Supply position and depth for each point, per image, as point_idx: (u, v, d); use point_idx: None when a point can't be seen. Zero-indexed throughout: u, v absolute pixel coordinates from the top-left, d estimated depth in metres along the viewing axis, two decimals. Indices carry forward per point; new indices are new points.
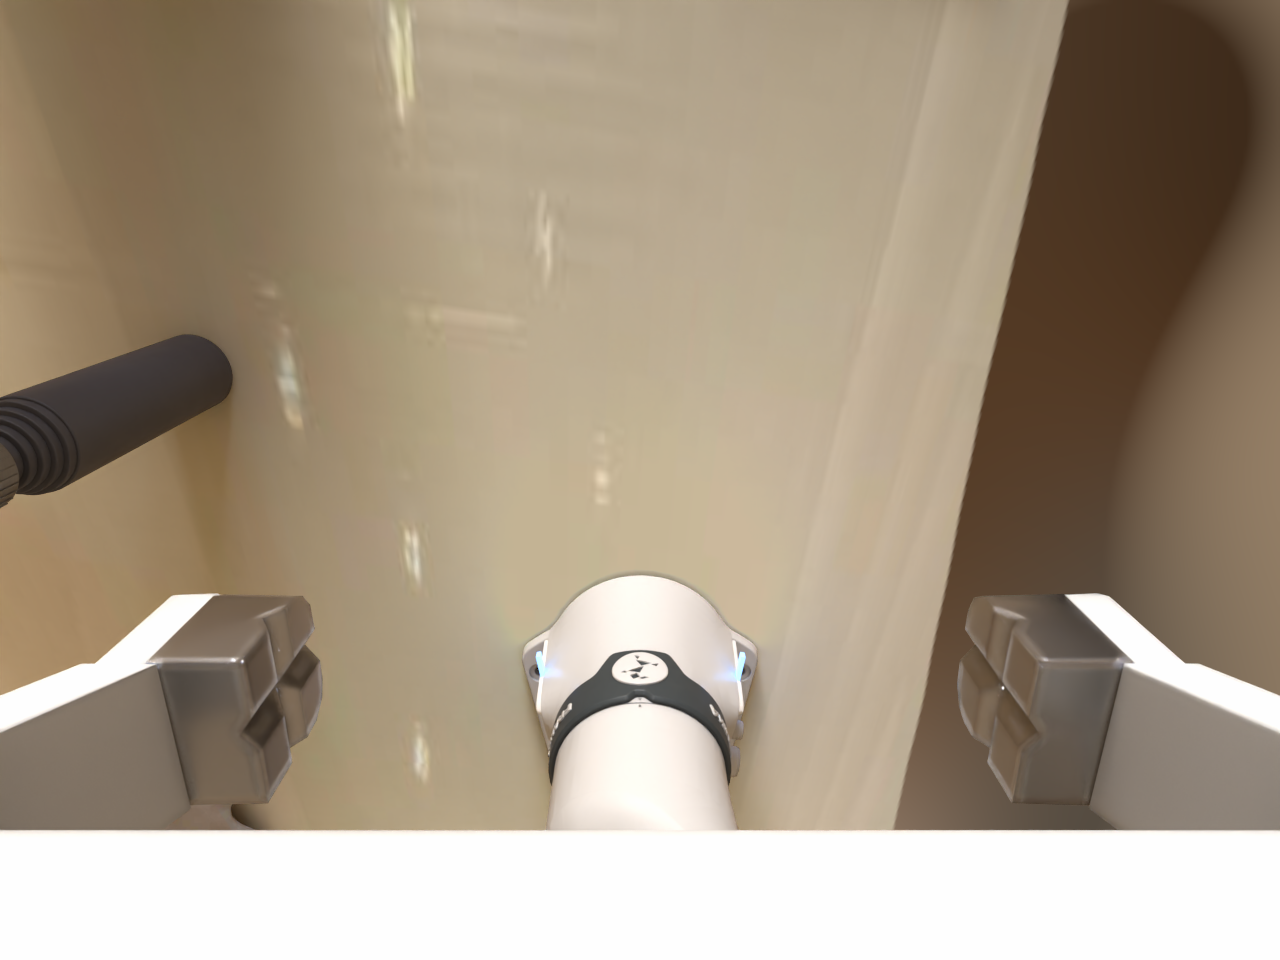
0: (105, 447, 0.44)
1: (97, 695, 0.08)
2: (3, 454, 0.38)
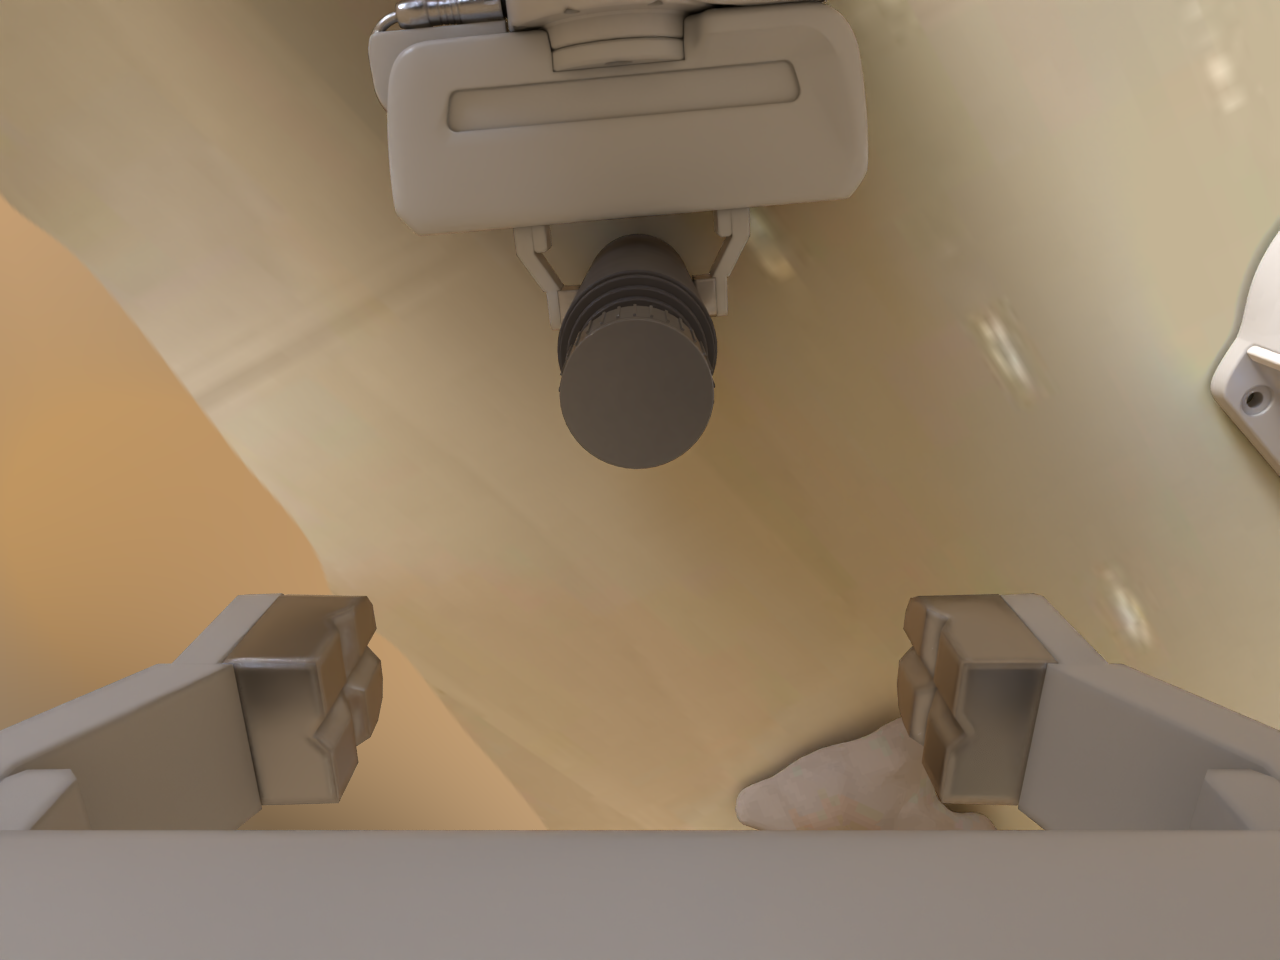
0: None
1: (178, 695, 0.08)
2: (673, 318, 0.23)
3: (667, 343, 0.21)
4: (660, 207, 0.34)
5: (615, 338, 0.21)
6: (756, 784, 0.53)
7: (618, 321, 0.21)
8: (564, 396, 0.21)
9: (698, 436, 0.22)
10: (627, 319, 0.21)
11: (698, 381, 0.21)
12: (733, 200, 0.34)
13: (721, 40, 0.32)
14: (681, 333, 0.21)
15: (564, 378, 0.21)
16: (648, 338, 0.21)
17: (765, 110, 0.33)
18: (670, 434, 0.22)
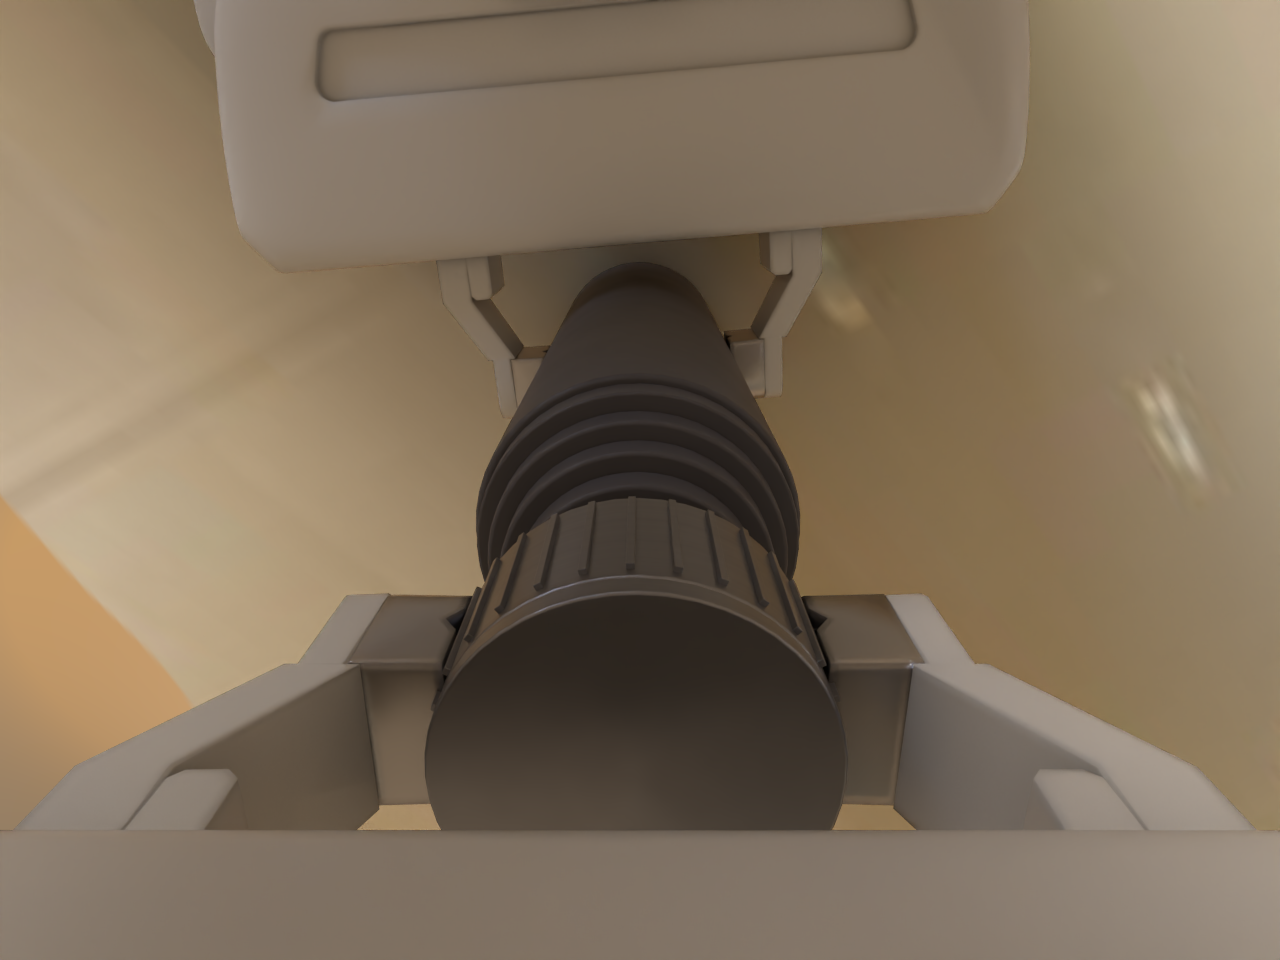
0: None
1: (312, 695, 0.08)
2: (727, 533, 0.09)
3: (723, 654, 0.07)
4: (677, 228, 0.21)
5: (574, 642, 0.07)
6: None
7: (582, 598, 0.07)
8: (437, 780, 0.08)
9: None
10: (608, 592, 0.07)
11: (807, 745, 0.08)
12: (798, 216, 0.21)
13: None
14: (764, 628, 0.07)
15: (434, 739, 0.08)
16: (669, 641, 0.07)
17: (856, 64, 0.19)
18: None
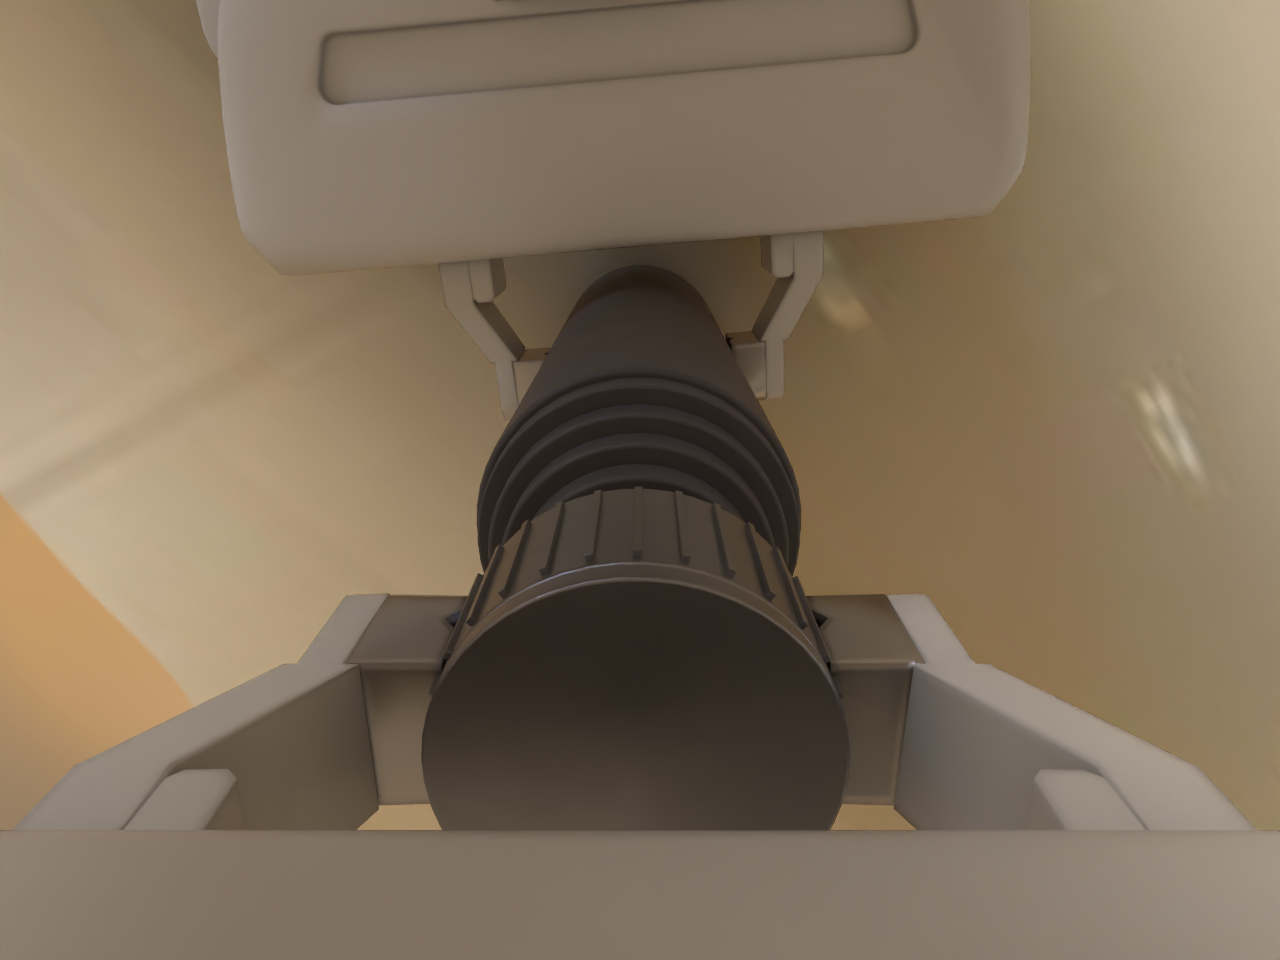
0: None
1: (311, 695, 0.08)
2: (514, 546, 0.09)
3: (513, 663, 0.07)
4: (678, 230, 0.21)
5: (464, 776, 0.08)
6: None
7: (422, 757, 0.08)
8: None
9: (808, 657, 0.07)
10: (423, 734, 0.08)
11: (647, 616, 0.07)
12: (799, 219, 0.21)
13: None
14: (495, 622, 0.07)
15: None
16: (486, 703, 0.08)
17: (857, 67, 0.19)
18: (772, 723, 0.08)
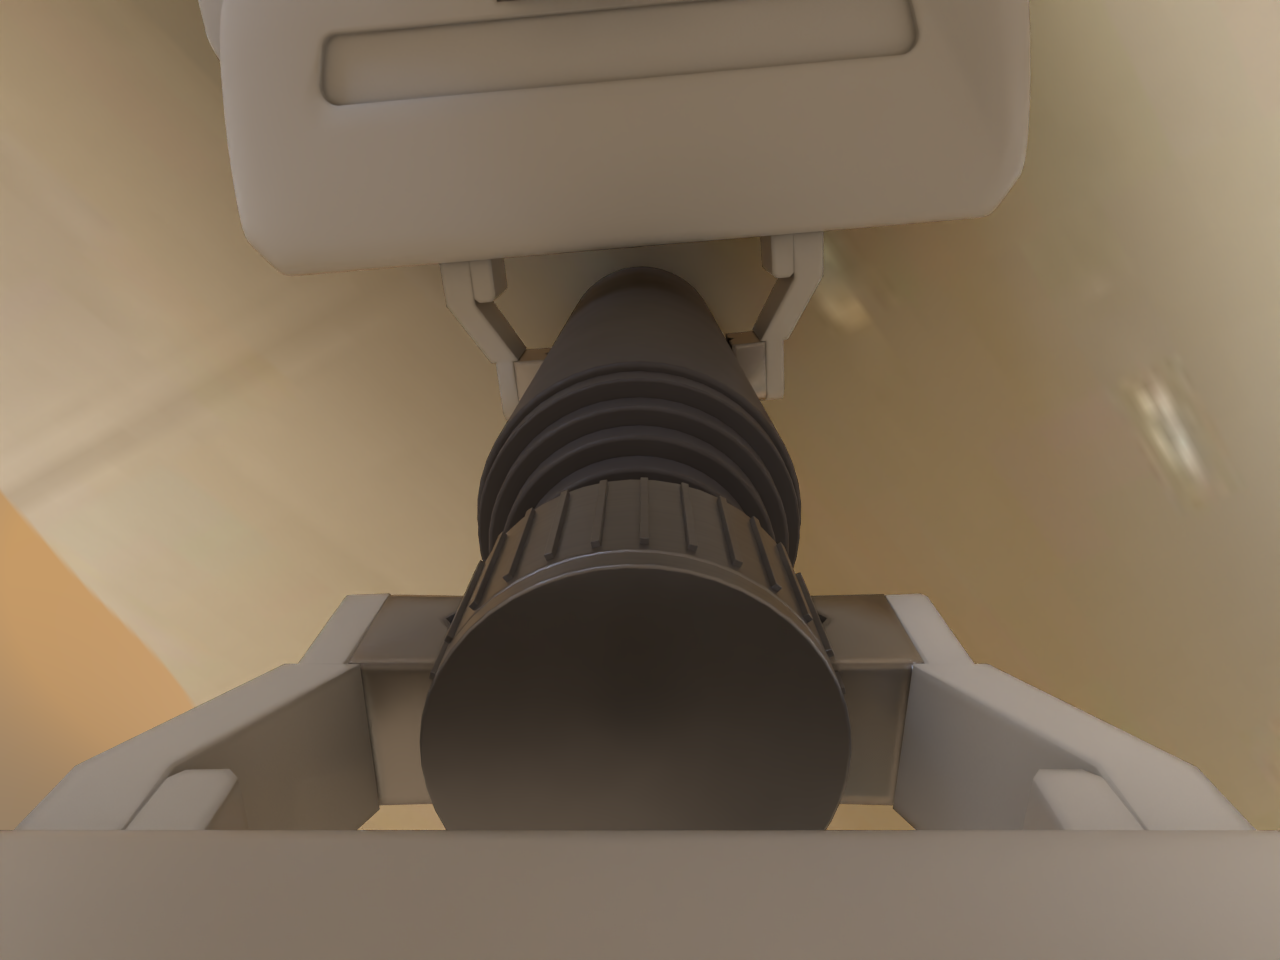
0: None
1: (312, 695, 0.08)
2: None
3: (486, 820, 0.08)
4: (679, 231, 0.21)
5: None
6: None
7: None
8: None
9: (551, 583, 0.07)
10: None
11: (466, 706, 0.08)
12: (799, 220, 0.21)
13: None
14: (441, 819, 0.08)
15: None
16: None
17: (857, 69, 0.20)
18: (619, 633, 0.07)
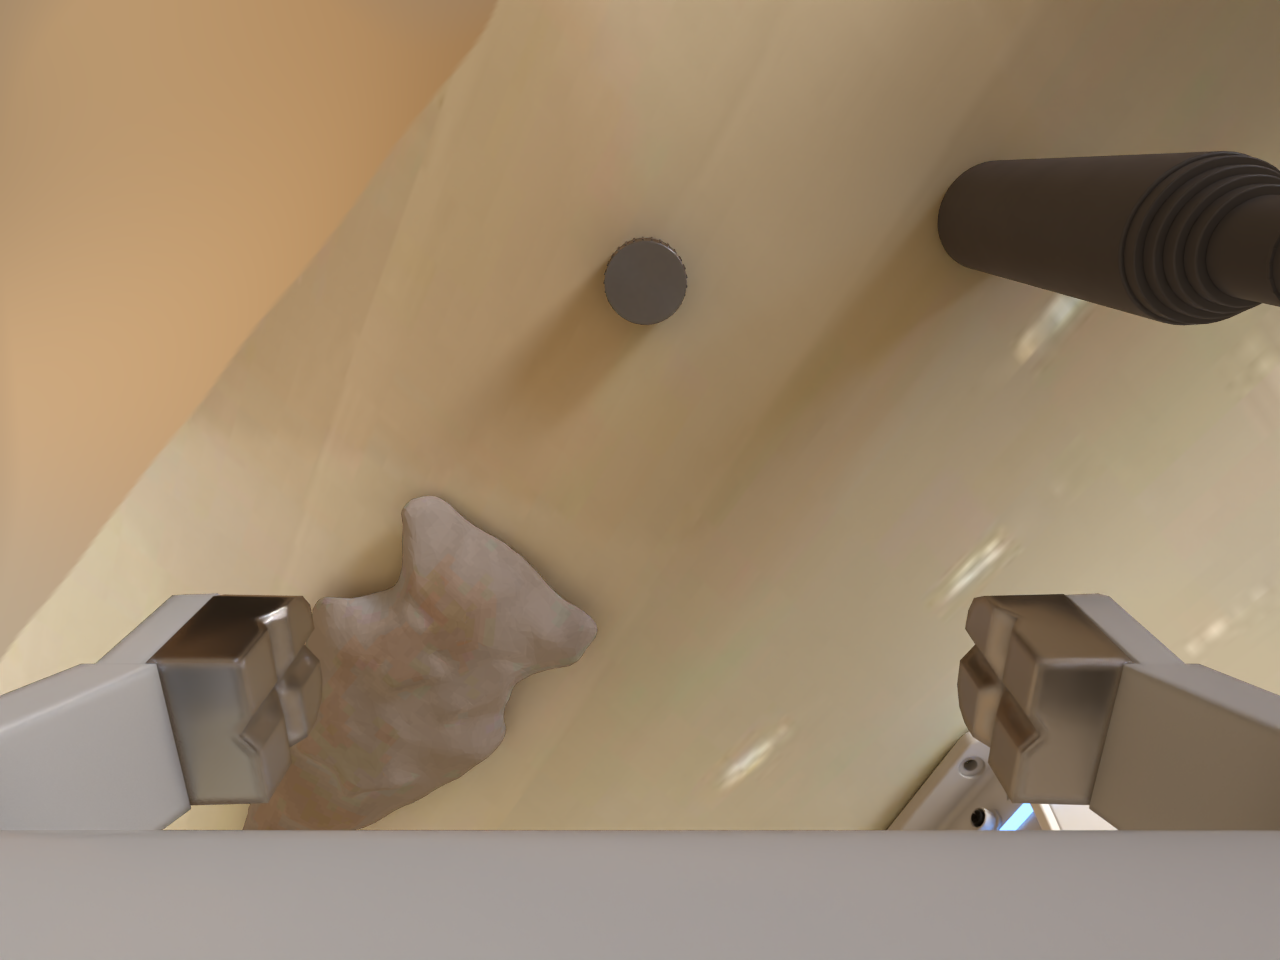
0: None
1: (97, 695, 0.08)
2: (663, 243, 0.42)
3: (660, 253, 0.40)
4: None
5: (633, 252, 0.40)
6: (453, 510, 0.46)
7: (634, 242, 0.40)
8: (607, 285, 0.40)
9: (679, 304, 0.41)
10: (639, 241, 0.40)
11: (677, 273, 0.40)
12: None
13: None
14: (667, 247, 0.40)
15: (607, 275, 0.40)
16: (650, 251, 0.40)
17: None
18: (664, 304, 0.41)
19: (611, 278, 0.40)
